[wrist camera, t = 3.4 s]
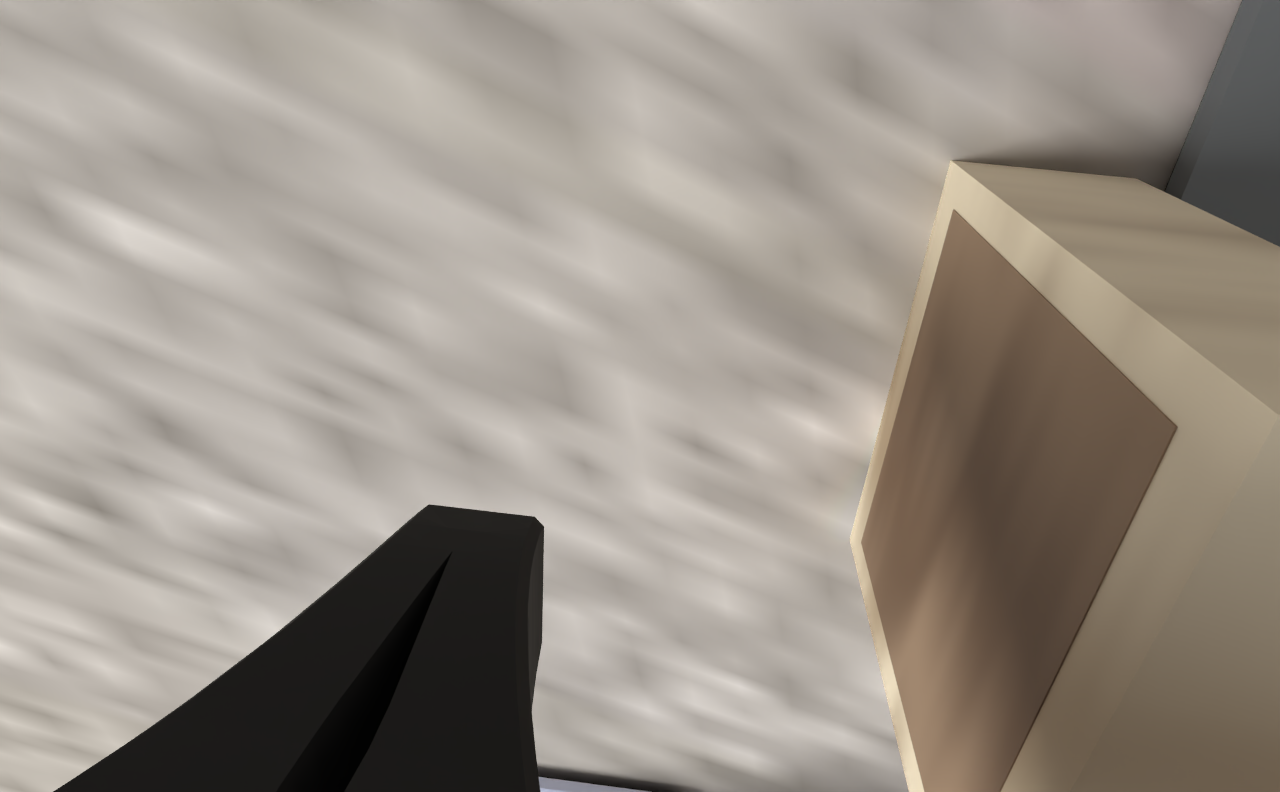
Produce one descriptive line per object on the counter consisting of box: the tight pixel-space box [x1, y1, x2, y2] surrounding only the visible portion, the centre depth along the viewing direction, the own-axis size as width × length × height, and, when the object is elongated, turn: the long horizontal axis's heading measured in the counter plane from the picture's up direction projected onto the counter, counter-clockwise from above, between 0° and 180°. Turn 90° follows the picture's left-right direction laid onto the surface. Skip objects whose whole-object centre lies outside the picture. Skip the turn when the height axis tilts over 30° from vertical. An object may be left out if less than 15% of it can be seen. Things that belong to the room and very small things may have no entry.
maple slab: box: [850, 160, 1280, 792], centre depth 11 cm, size 8×3×8 cm, turn 176°
